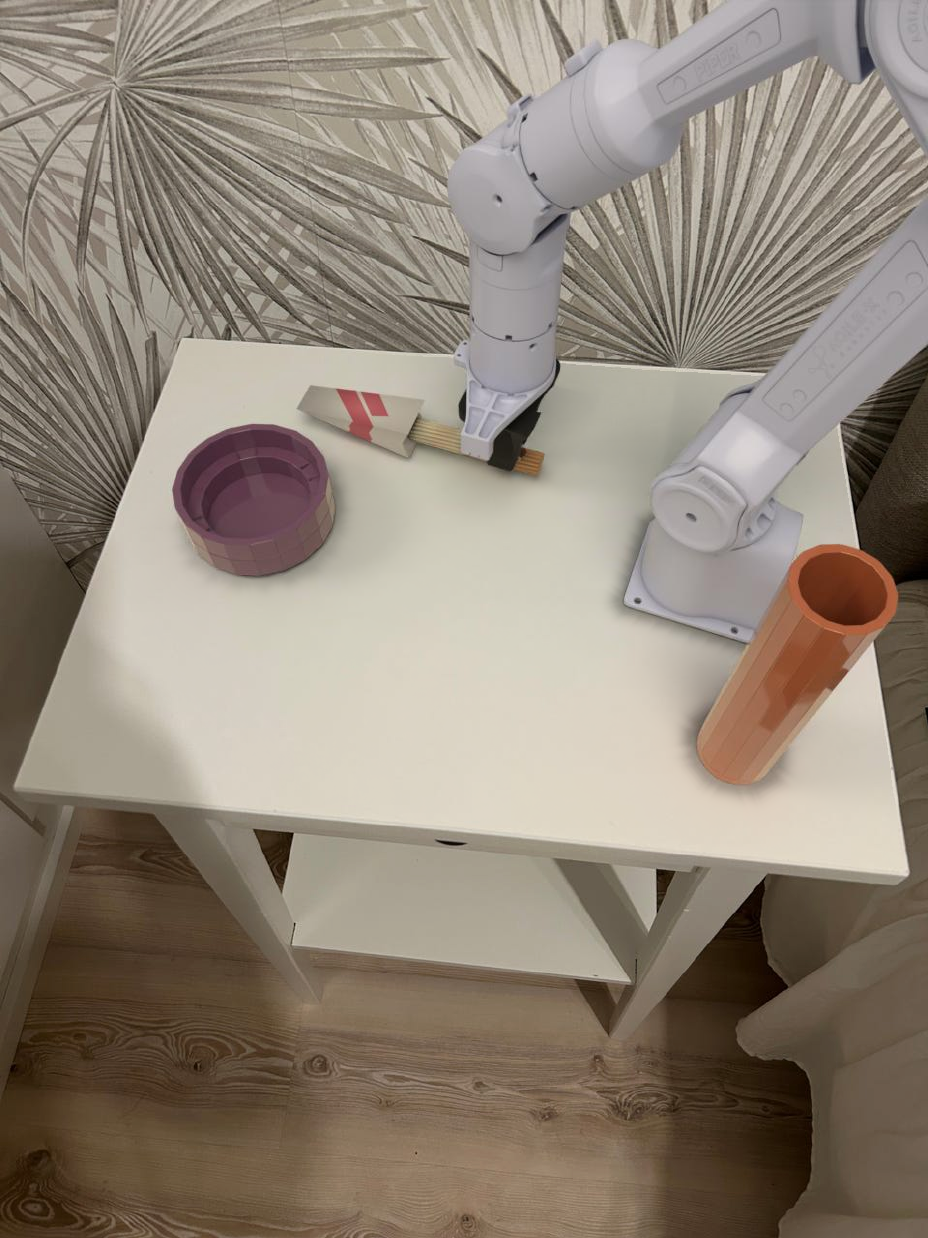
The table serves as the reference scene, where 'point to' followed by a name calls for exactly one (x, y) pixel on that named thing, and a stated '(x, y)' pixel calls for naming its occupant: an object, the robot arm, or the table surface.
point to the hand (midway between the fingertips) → (507, 451)
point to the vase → (796, 658)
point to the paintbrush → (392, 422)
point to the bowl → (255, 499)
